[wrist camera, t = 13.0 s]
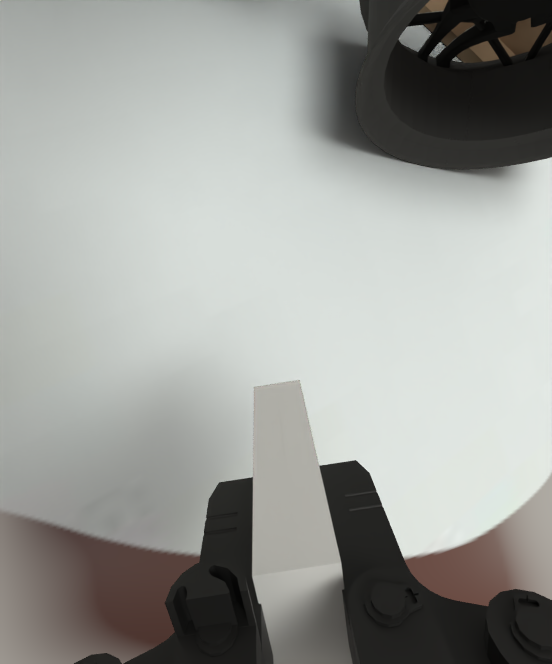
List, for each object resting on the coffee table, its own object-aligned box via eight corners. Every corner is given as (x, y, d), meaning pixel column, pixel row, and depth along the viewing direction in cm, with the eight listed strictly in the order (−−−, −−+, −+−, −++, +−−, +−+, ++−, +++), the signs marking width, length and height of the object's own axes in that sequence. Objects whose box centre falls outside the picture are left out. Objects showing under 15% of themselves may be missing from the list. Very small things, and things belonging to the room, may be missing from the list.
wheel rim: (516, 89, 36) (924, -215, 17) (514, 185, 35) (935, -13, 16) (312, 28, 30) (568, -529, 11) (307, 141, 30) (567, -239, 11)
